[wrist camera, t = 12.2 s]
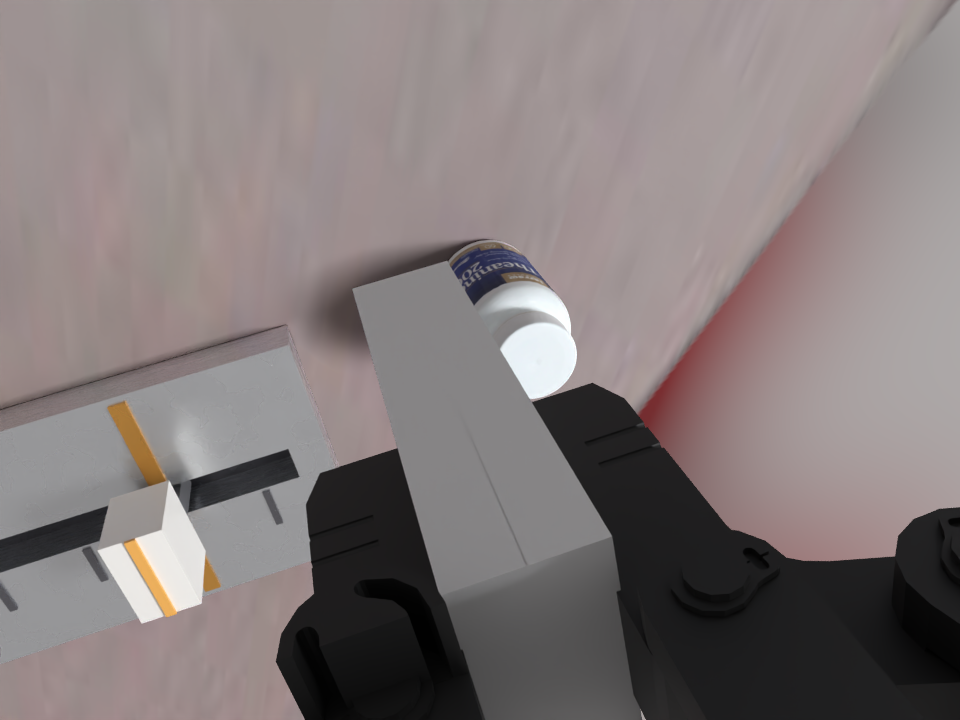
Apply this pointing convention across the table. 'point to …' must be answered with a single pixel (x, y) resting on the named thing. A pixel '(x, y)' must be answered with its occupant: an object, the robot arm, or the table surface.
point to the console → (155, 480)
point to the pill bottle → (519, 314)
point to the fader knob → (154, 550)
